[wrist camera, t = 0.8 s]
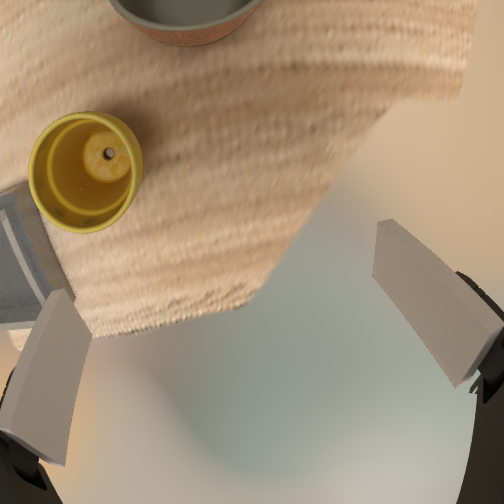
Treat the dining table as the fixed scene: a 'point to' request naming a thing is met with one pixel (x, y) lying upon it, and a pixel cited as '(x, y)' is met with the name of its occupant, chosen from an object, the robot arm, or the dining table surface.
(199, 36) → the planter
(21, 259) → the grey square tray
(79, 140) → the plant pot
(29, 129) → the dining table surface
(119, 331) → the dining table surface
